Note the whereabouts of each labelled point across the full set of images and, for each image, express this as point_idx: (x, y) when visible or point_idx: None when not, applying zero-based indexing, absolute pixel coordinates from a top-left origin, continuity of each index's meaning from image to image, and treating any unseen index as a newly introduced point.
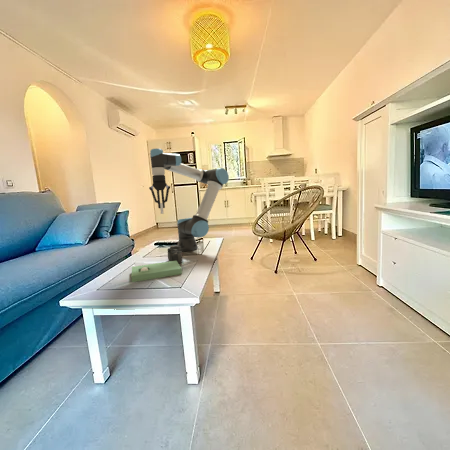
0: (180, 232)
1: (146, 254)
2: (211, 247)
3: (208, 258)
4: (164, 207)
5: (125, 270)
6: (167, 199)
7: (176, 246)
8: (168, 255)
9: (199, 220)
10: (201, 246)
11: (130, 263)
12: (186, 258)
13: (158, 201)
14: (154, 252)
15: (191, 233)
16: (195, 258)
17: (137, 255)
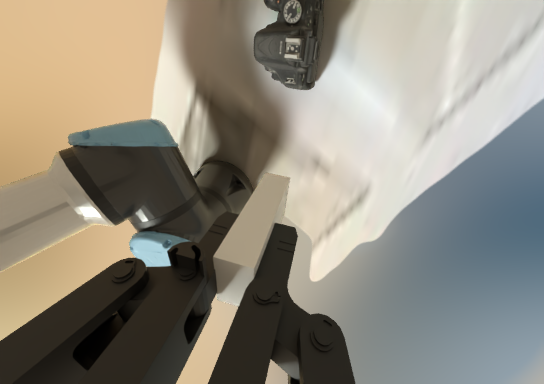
0: (215, 216)
1: (345, 217)
2: None
3: (181, 3)
4: (224, 216)
5: (520, 37)
6: (81, 286)
7: (275, 35)
8: (314, 68)
9: (89, 153)
10: None
11: (440, 142)
12: (251, 67)
13: (270, 314)
14: (317, 222)
15: (177, 150)
16: (223, 41)
17: (372, 225)
